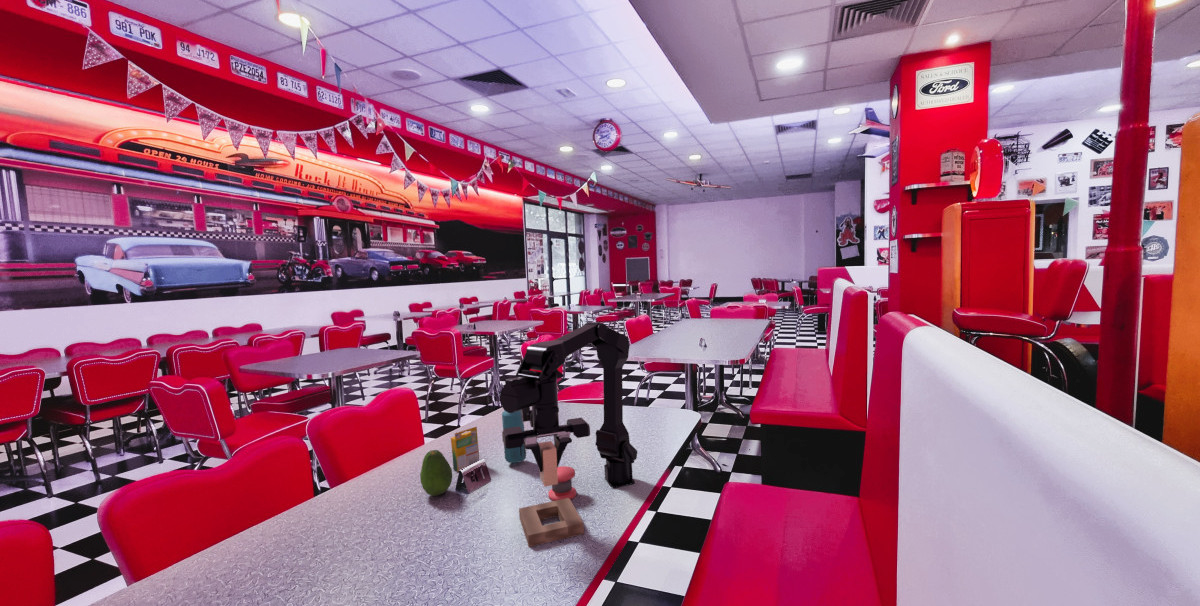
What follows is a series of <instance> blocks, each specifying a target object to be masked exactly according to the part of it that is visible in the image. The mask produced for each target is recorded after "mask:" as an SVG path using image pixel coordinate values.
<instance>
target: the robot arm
mask: <svg viewBox="0 0 1200 606" xmlns="http://www.w3.org/2000/svg"><path fill="white" fill-rule="evenodd" d="M588 345H591V346H592V347H594V348H596V349H595V350H596V355H597V356H596V357H597V359H598V360H599V363H600V364H601V367H602V369H603V372H602V373H603V381H602V383H603V386H602V387H603V423H602V425H601V426H600V428H599V429H596V430H595V431H596V432H595V446H596V448H597V451H598V452H599V455H600V458H601V459H604V460H605V464H604V468H603V469H604V480H605V481H606V482H607V483H608V484H609V486H610V487H611V488H613V489H614V488H619V487H625V486H629V485H634V484H636V480H635V479H634V478H633V464H634V463H635V461H636V460H637V458H638V450H637V449H636V448H635V447H634V446H633V445H632V444H631V443H630V441H631V440H630V435H629V434H630V433H629V431H628V429H627V427H626V426H625V424H624V419H623V415H624V413H623V409H624V408H623V407H624V405H623V367H624V365H625V364H626V362H627V361H628V359H629V354H630V339H629V338H628V337H627V336H626V335H625V334H622V333H621V332H618V331H616V330H614V329H613V328H610V327H609V326H607V325H606V324H604V323H602V322H598V321H597V322H596V321H590V322H589V321H588V322H586V323H584V325H582V326H579V327H577V328H576V329H574V330H572V331H570V332H568V333H566V334H564V335H561V336H560V337H558V338H555V339H553V340H552V339H551V340H546V341H540V342H535V343H532V344H530V345H529V346H527V347H526V351H525V353H524V356H523V358H522V361H521V363H520V365H519V366H518V369H517V371H516V373H515V377H513V378H507V379H505V383H504V384H505V385H503V386H502V388H501V390H500V392H499V394H498V396H499V397H498V398H499V402H500V405H501V407H502V409H503V411H504V410H505V411H506V412H508V413H513V412H516V411H519V410H521V418H522V422H524V423H525V422H529V425H530V427H531V428H532V429H527V430H526V429H525V430H524V431H522V429H521V428H520V426H519V427H512V428H505V429H504V430H503V429H502V433H501V436H502V443H503V446H504V445H505V448H507V449H511V448H517V447H521V446H522V445H523V444H524V446H525V448H526V450H531V452H532V455H533V458H534V459H535V462H536V464H537V468H538V470H539V473H540V472H542V460H541V453H540V446H539V444H538V443H539V442H538V439H539V438H546V437H552V436H553V444H554V446H555V447H556V453H557V468H558V467H559V465H560V462H561V459H562V457H563V455H564V452H565V450H566V448H567V447H568V445H569V444H571V443H572V442H573V439H572V438H571V433H572V434H573V436H574V437H576V439H580V438H586V437H590V436H591V427H590V424H589V423H588V422H587V421H586V420H585V419H584V418H582V417H575V418H569V419H567V420H566V424H562V425H560V422H559V421H560V419H559V413H560V407H559V397H558V395H559V394H558V379H563V378H564V373H563V372H561V371H560V370H559V368H560V367H561V366H562V365H564V364H565V363H566V360H567V358H568V357H569V356H571V355H572V354H575V352H577V351H580V350H581V349H583V348H584V347H586V346H588Z"/></svg>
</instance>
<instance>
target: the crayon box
mask: <svg viewBox="0 0 1200 606" xmlns="http://www.w3.org/2000/svg"><path fill="white" fill-rule="evenodd" d="M477 428H478V427H477V426H474V427H470V428H468V429H465V430H464V429H463V430H461V431H458V432H455V433H454V436H453V437H450V443H451V446H450V447H451V454H452V466H453V467H452V468H453V470H454V471H455V472H458V471H459V470H460V469H462V468H464V467H467V466H469V465H471V464H473V463H475V462H477V461H479V460H480V451H479V440H478V439H479V438H478V429H477ZM458 473H459V472H458Z"/></svg>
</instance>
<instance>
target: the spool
mask: <svg viewBox="0 0 1200 606" xmlns="http://www.w3.org/2000/svg"><path fill="white" fill-rule="evenodd" d="M557 474H558V484H556V485H551V489H550V490H549V491H548V492H547V493H548V498H549V500H550V501H551V502H552V501H557V500H561V499H566V498H569V499H570V501H572V500H573V499H575V498H576V496H577V489H576V488H575V487H573V485H572V483H573V481H572V480H573V478H574V477H575V475H576V471H575V468H574V467H571V466H566V465H565V466H564V465H563V466H562V465H561V466H558V468H557Z"/></svg>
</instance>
